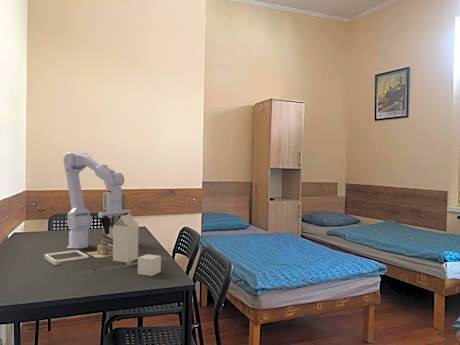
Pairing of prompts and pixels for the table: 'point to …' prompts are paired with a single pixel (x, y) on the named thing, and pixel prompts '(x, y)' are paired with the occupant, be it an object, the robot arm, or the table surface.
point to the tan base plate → (99, 254)
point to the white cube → (149, 264)
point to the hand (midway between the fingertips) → (114, 232)
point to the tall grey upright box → (114, 219)
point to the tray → (56, 262)
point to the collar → (105, 249)
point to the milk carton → (125, 240)
